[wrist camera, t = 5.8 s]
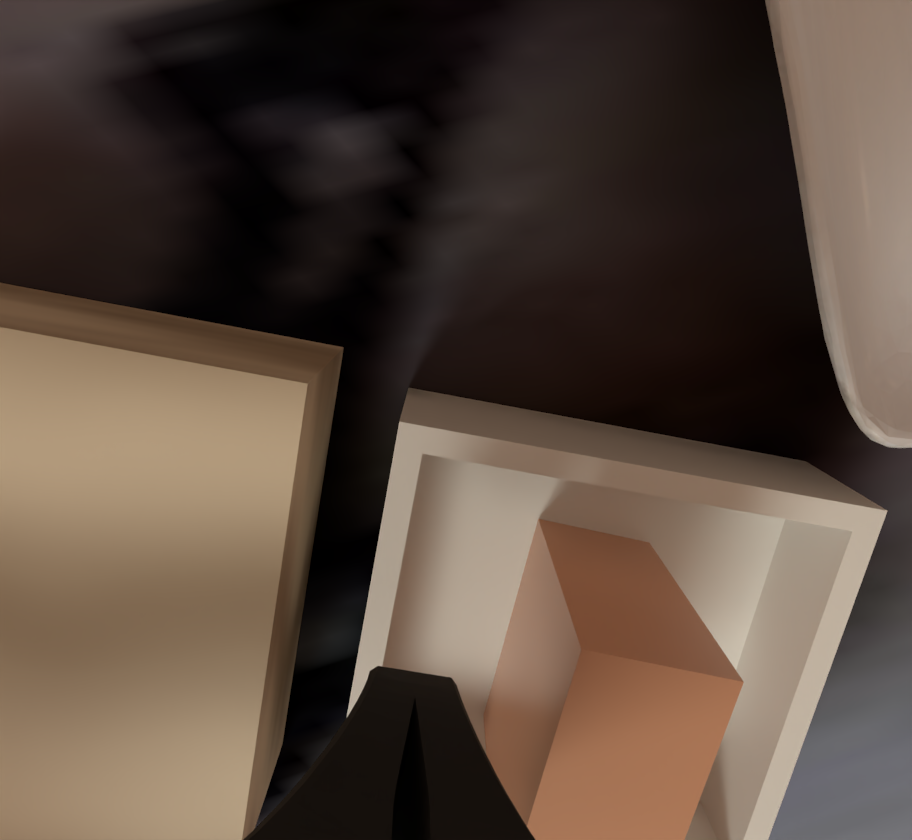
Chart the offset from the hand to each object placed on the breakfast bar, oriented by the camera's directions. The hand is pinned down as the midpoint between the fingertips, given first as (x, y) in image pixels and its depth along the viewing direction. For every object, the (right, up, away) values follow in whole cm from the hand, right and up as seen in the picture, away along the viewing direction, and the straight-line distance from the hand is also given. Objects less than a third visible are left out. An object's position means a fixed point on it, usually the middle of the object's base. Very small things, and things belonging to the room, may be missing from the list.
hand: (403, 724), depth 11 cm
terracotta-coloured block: (+2, 0, +2) cm, 3 cm away
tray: (+3, +1, +5) cm, 6 cm away
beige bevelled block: (-7, +3, +4) cm, 9 cm away
